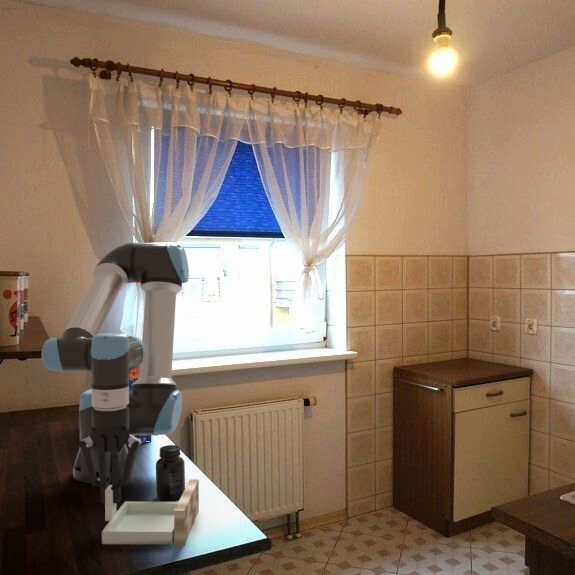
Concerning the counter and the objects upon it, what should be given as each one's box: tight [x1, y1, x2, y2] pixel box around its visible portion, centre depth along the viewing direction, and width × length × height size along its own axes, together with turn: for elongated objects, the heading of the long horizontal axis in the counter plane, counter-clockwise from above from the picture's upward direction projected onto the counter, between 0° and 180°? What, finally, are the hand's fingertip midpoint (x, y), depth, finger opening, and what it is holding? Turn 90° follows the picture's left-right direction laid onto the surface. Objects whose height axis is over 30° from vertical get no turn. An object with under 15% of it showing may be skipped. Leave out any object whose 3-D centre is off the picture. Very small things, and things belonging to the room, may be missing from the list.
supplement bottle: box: [155, 444, 186, 502], centre depth 126 cm, size 7×7×12 cm
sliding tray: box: [101, 501, 179, 545], centre depth 110 cm, size 14×14×2 cm
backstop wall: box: [173, 478, 200, 547], centre depth 111 cm, size 16×2×7 cm, turn 0°
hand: (110, 517), depth 111 cm, fingers closed
